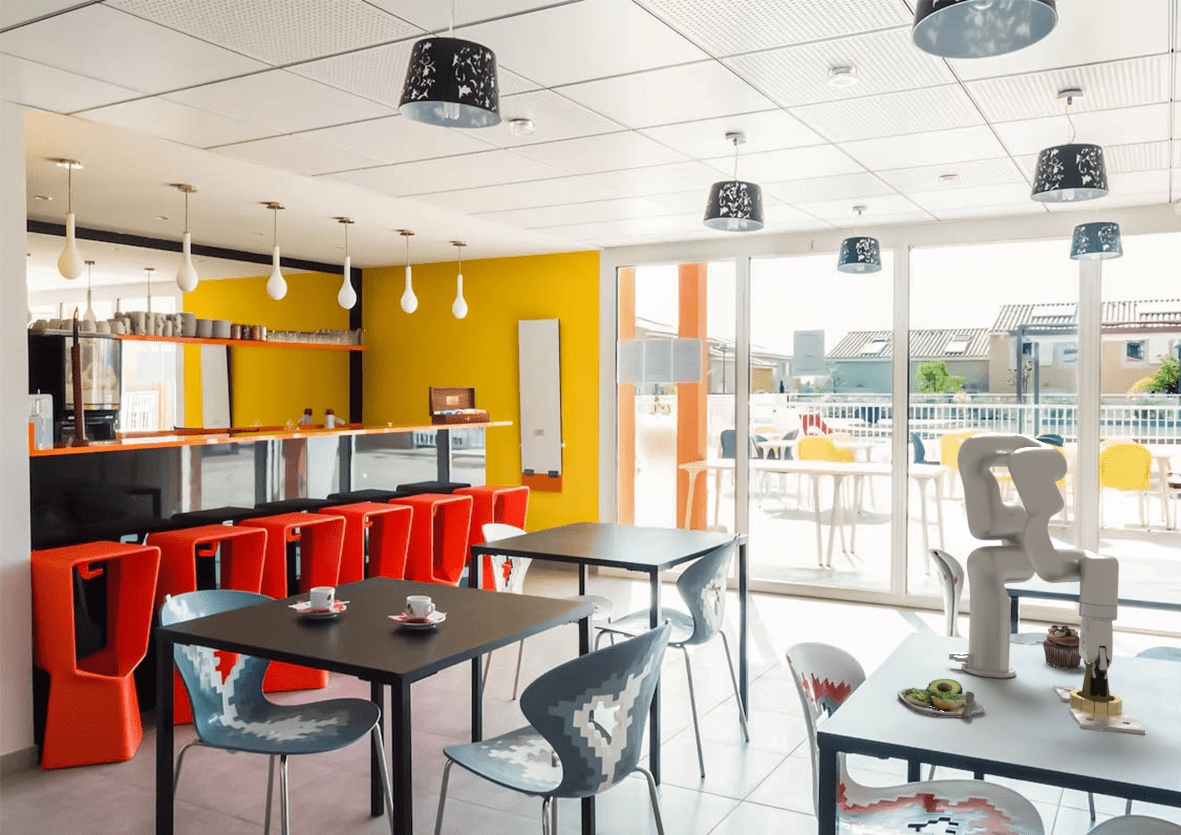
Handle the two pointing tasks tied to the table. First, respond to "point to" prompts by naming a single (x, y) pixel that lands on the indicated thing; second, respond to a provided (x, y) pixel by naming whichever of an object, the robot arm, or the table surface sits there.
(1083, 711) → the mounting plate with ring
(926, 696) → the avocado toast plate
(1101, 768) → the table surface
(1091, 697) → the cork
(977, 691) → the table surface
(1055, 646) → the cupcake
